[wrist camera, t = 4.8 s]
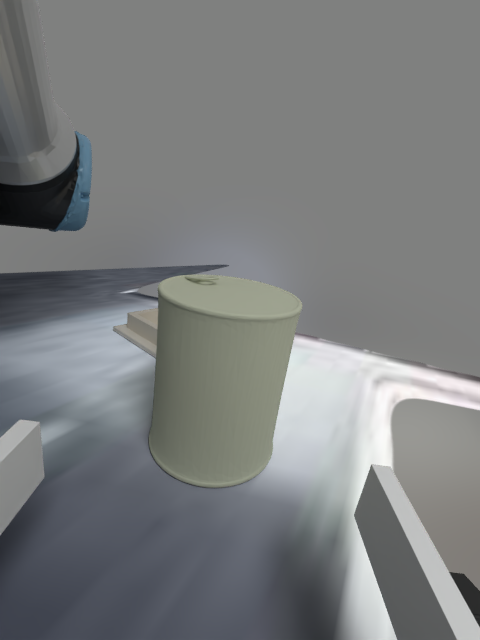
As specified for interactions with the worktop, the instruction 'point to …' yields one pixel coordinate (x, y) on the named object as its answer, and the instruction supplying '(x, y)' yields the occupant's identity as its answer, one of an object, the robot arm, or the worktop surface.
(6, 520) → the robot arm
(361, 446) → the worktop surface
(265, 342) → the can
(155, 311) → the square tray
